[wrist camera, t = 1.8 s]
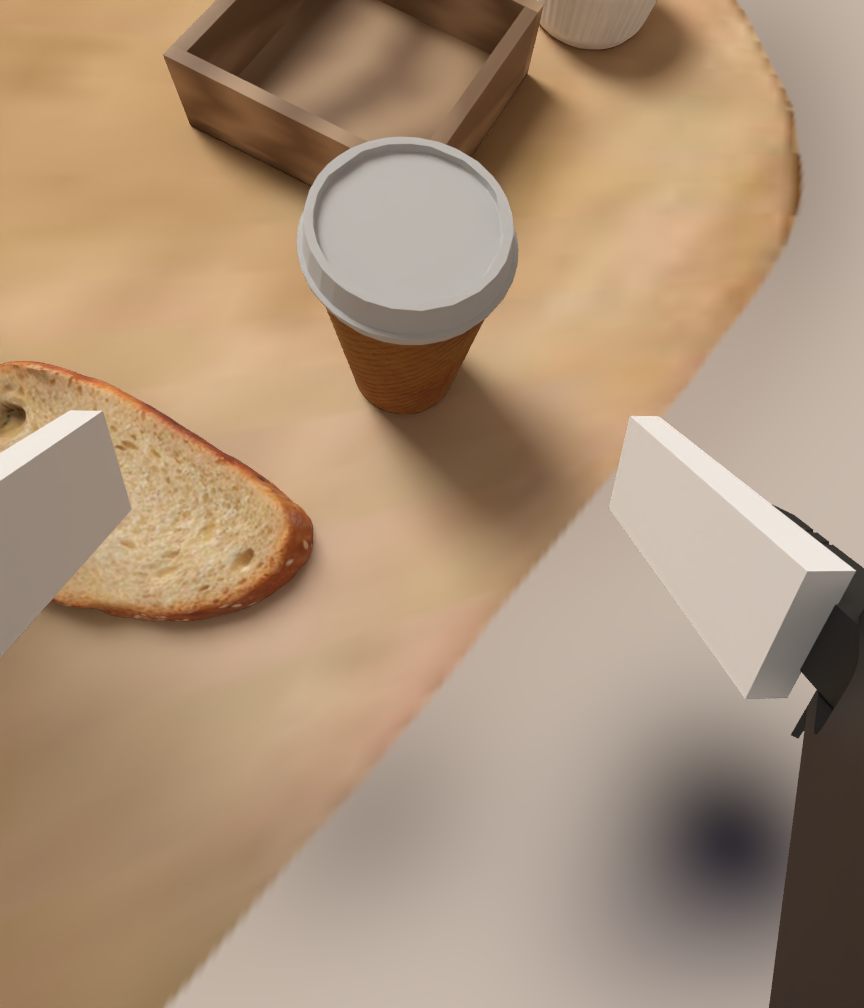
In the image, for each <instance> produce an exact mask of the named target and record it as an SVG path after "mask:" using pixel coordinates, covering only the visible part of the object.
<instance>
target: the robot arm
mask: <svg viewBox="0 0 864 1008" xmlns="http://www.w3.org/2000/svg"><path fill="white" fill-rule="evenodd" d="M609 509H610V511H611V512H612V513H613V515H614V516H615V518H616V519H617V520H618V521H619V523H620V525H621V526H622V527H623V529H624V530H625V532H626V533H627V534H628V536H629V537H630V539H631V540H632V541H633V543H634V544H635V545H636V547H637V548H638V550H639V551H640V553H641V554H642V555H643V557H644V558H645V560H646V561H647V562H648V563H649V565H650V567H651V568H652V569H653V571H654V572H655V573H656V575H657V576H658V578H659V579H660V580H661V582H662V583H663V585H664V586H665V587H666V589H667V590H668V591H669V593H670V594H671V596H672V597H673V599H674V600H675V601H676V603H677V604H678V606H679V607H680V608H681V610H682V611H683V613H684V614H685V615H686V617H687V618H688V620H689V621H690V622H691V624H692V625H693V627H694V628H695V629H696V631H697V632H698V633H699V635H700V636H701V638H702V639H703V641H704V642H705V643H706V645H707V646H708V648H709V649H710V650H711V652H712V653H713V655H714V656H715V657H716V659H717V660H718V661H719V663H720V664H721V666H722V667H723V669H724V670H725V671H726V673H727V674H728V675H729V677H730V678H731V680H732V681H733V682H734V684H735V685H736V687H737V688H738V690H739V691H740V692H741V694H742V695H743V697H744V698H745V699H765V698H787V697H788V695H789V694H790V692H791V690H792V688H793V686H794V684H795V683H796V681H797V679H798V677H799V675H800V673H801V672H802V673H803V674H804V675H805V677H806V678H807V679H808V680H809V681H810V682H811V683H812V685H813V686H814V687H815V688H816V689H817V691H816V692H815V694H814V696H813V697H812V699H811V701H810V703H809V705H808V706H807V708H806V710H805V711H804V713H803V715H802V716H801V718H800V720H799V722H798V723H797V725H796V727H795V729H794V731H793V732H792V734H791V735H792V736H794V737H796V738H799V737H800V735H801V733H802V732H803V731H805V732H804V740H803V748H802V755H801V764H800V771H799V778H798V786H797V794H796V802H795V810H794V817H793V825H792V833H791V841H790V848H789V856H788V864H787V872H786V880H785V888H784V895H783V903H782V911H781V919H780V927H779V934H778V943H777V950H776V958H775V965H774V973H773V982H772V989H771V997H770V1004H769V1008H864V568H862V567H861V566H860V565H859V564H857V563H856V562H855V561H853V560H852V559H851V558H849V557H848V556H847V555H846V554H844V553H843V552H842V551H840V550H839V549H838V548H836V547H835V546H834V545H829V541H827V540H826V539H825V538H823V537H822V536H821V535H819V534H818V533H813V529H811V528H810V527H809V526H808V525H806V524H805V523H804V522H802V521H801V520H800V519H798V518H797V517H796V516H795V515H793V514H791V513H789V512H787V511H784V510H782V509H780V508H778V507H776V506H774V505H772V504H770V503H769V502H768V501H766V500H765V499H764V498H762V497H761V496H760V495H759V494H757V493H756V492H755V491H753V490H752V489H751V488H749V487H748V486H747V485H746V484H744V483H743V482H742V481H741V480H739V479H738V478H737V477H735V476H734V475H733V474H732V473H730V472H729V471H728V470H727V469H725V468H724V467H723V466H722V465H720V464H719V463H718V462H716V461H715V460H713V458H711V457H710V456H708V455H707V454H706V453H705V452H703V451H702V450H701V449H700V448H699V447H697V446H696V445H695V444H693V443H692V442H691V441H690V440H688V439H687V438H686V437H684V436H683V435H682V434H681V433H679V432H678V431H677V430H675V429H674V428H673V427H672V426H670V425H669V424H668V423H667V422H665V421H664V420H663V419H661V418H660V417H659V416H630V419H629V423H628V427H627V432H626V436H625V440H624V444H623V449H622V453H621V457H620V462H619V466H618V470H617V475H616V479H615V484H614V488H613V492H612V497H611V501H610V505H609ZM131 510H132V508H131V504H130V501H129V498H128V494H127V491H126V487H125V484H124V481H123V477H122V474H121V470H120V467H119V464H118V460H117V457H116V453H115V450H114V447H113V443H112V440H111V436H110V433H109V430H108V426H107V423H106V419H105V416H104V413H103V411H77V410H70V411H68V412H66V413H65V414H63V415H62V416H60V417H58V418H57V419H55V420H53V421H52V422H50V423H48V424H47V425H45V426H44V427H42V428H40V429H39V430H37V431H35V432H34V433H32V434H30V435H29V436H27V437H26V438H24V439H22V440H21V441H19V442H17V443H16V444H14V445H12V446H11V447H9V448H8V449H6V450H4V451H3V452H1V453H0V658H1V657H2V656H3V654H4V653H5V652H6V651H7V650H8V649H9V648H10V647H11V645H12V644H13V643H14V642H15V641H16V640H17V639H18V638H19V636H20V635H21V634H22V633H23V632H24V631H25V630H26V628H27V627H28V626H29V625H30V624H31V623H32V622H33V621H34V619H35V618H36V617H37V616H38V615H39V614H40V613H41V612H42V610H43V609H44V608H45V607H46V606H47V605H48V604H49V602H50V601H51V600H52V599H53V598H54V597H55V596H56V595H57V593H58V592H59V591H60V590H61V589H62V588H63V587H64V586H65V584H66V583H67V582H68V581H69V580H70V579H71V578H72V577H73V575H74V574H75V573H76V572H77V571H78V570H79V569H80V567H81V566H82V565H83V564H84V563H85V562H86V561H87V560H88V558H89V557H90V556H91V555H92V554H93V553H94V552H95V551H96V549H97V548H98V547H99V546H100V545H101V544H102V543H103V541H104V540H105V539H106V538H107V537H108V536H109V535H110V534H111V532H112V531H113V530H114V529H115V528H116V527H117V526H118V525H119V523H120V522H121V521H122V520H123V519H124V518H125V517H126V515H127V514H128V513H129V512H130V511H131Z"/></svg>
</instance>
